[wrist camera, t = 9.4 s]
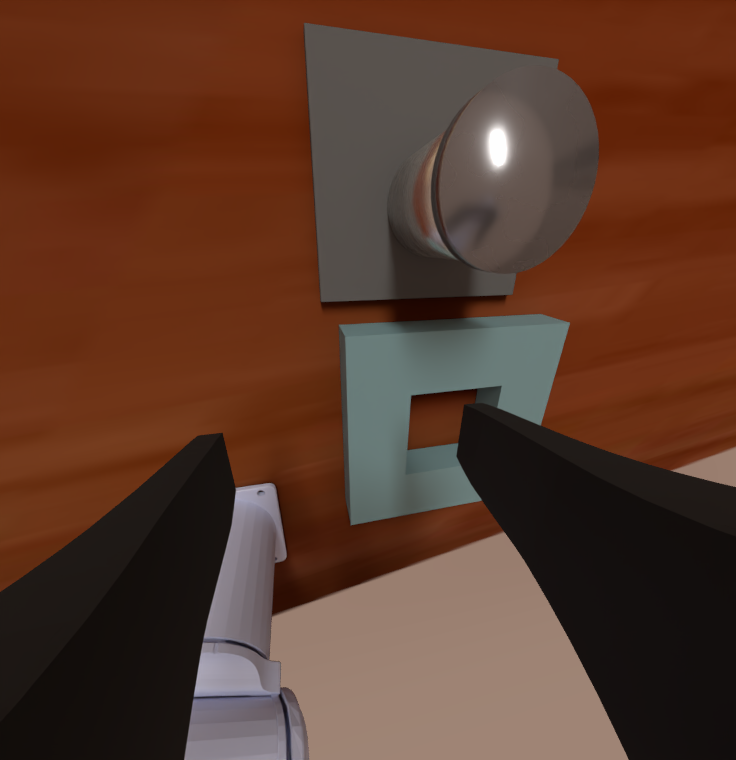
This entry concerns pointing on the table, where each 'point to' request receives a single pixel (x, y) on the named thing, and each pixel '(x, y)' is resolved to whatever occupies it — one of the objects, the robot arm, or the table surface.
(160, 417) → the table surface
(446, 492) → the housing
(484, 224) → the door knob
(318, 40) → the rubber mat
